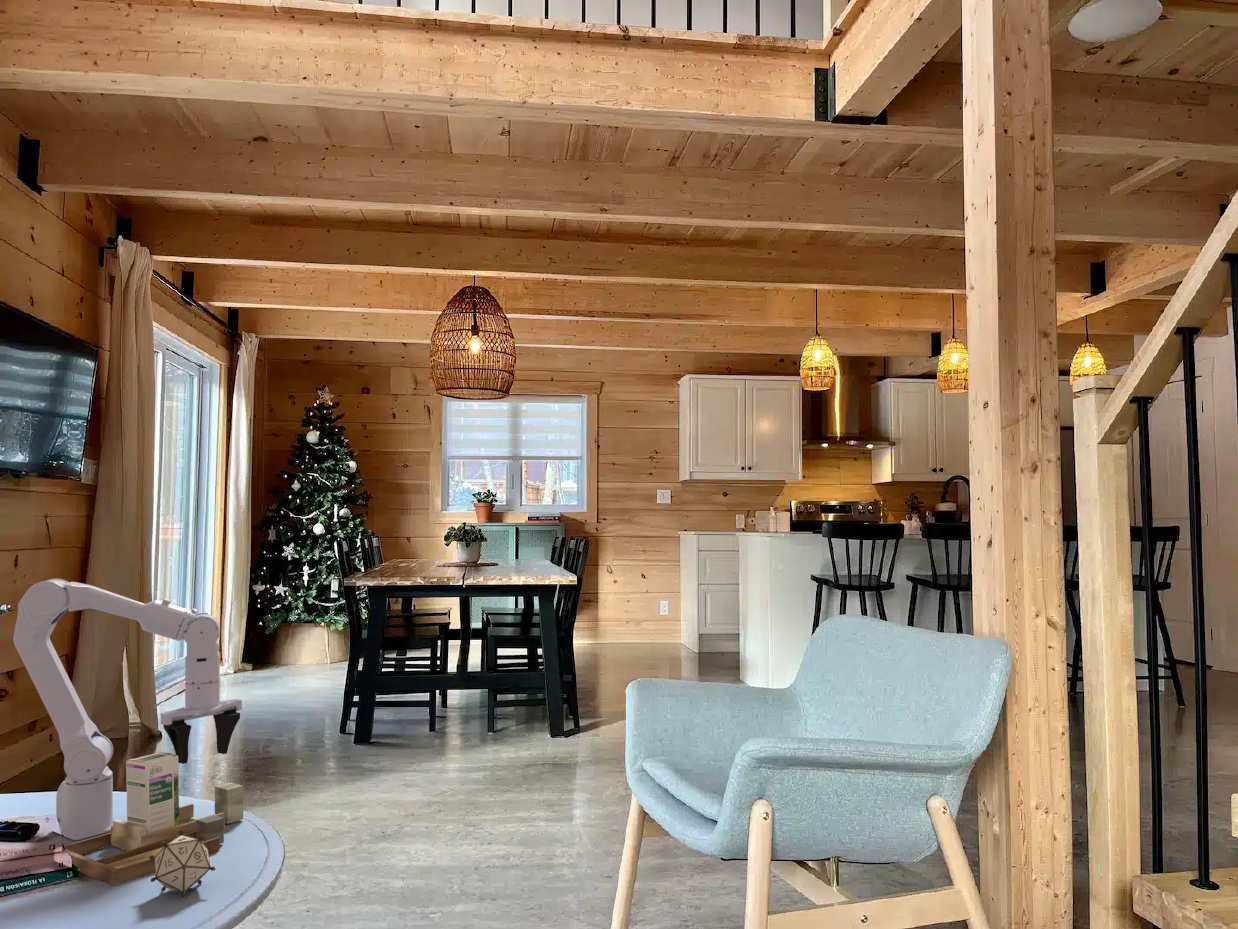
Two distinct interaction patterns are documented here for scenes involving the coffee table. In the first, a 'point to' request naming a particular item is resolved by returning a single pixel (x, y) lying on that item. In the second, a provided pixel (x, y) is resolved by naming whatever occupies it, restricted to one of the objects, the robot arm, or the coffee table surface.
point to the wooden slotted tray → (180, 820)
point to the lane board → (119, 858)
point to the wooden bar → (205, 827)
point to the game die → (181, 863)
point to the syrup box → (153, 791)
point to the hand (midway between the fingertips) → (202, 758)
